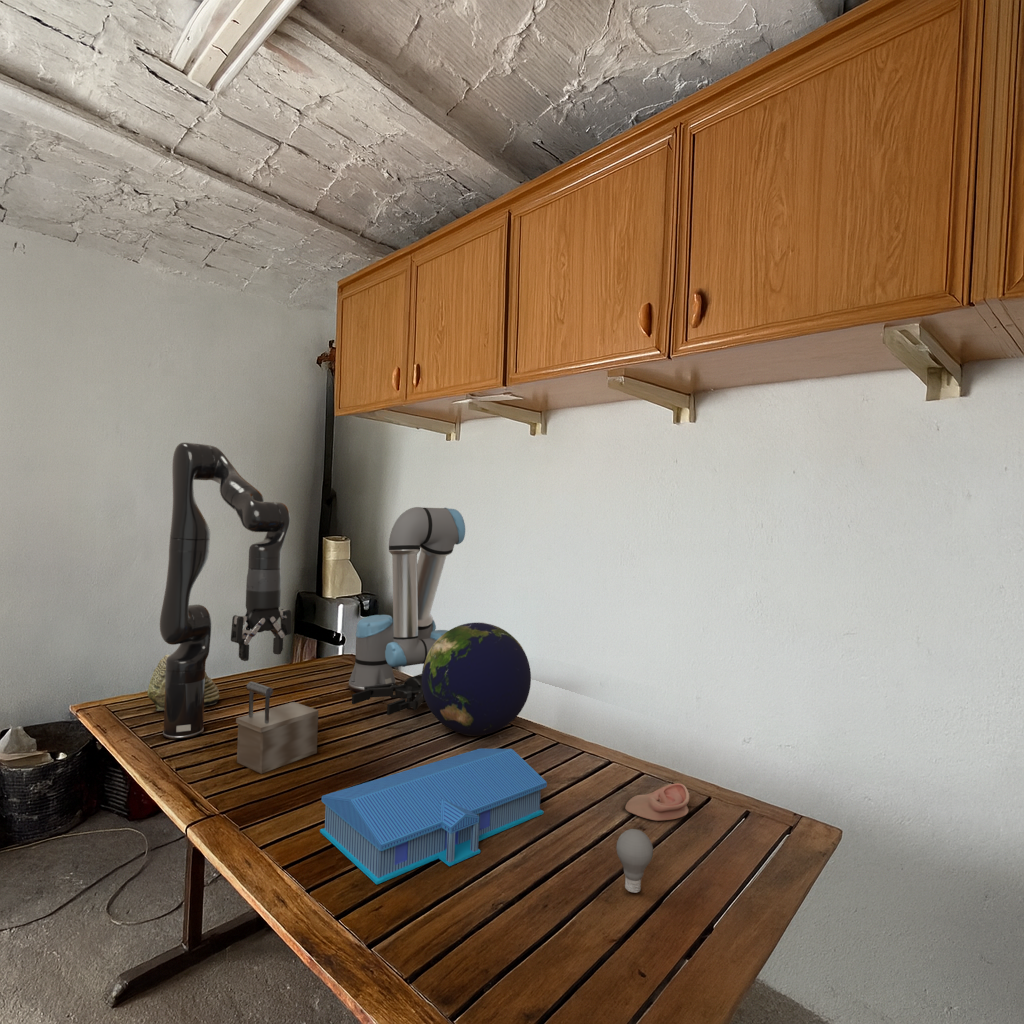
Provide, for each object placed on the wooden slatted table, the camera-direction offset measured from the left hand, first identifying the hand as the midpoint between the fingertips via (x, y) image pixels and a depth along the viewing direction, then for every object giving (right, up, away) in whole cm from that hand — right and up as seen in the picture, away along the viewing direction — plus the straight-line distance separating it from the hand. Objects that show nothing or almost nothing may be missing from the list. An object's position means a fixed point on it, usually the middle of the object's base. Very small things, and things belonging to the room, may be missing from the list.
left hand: (261, 657), depth 147 cm
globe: (+48, -27, +27) cm, 61 cm away
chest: (+2, -25, +5) cm, 26 cm away
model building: (+44, -28, -23) cm, 57 cm away
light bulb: (+78, -30, -42) cm, 94 cm away
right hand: (+19, -20, +28) cm, 39 cm away
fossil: (-38, -23, +38) cm, 58 cm away
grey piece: (+2, -16, +5) cm, 17 cm away
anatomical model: (+89, -30, -12) cm, 95 cm away
